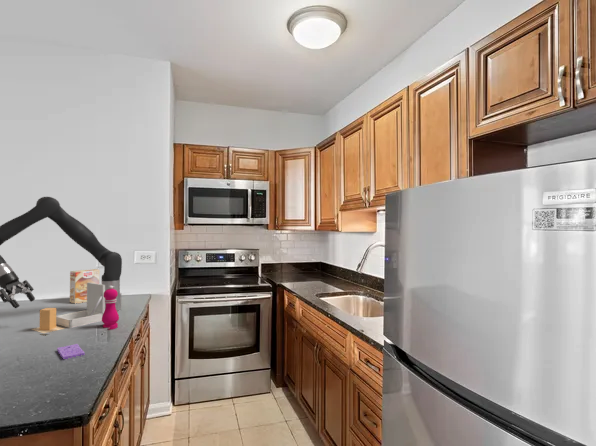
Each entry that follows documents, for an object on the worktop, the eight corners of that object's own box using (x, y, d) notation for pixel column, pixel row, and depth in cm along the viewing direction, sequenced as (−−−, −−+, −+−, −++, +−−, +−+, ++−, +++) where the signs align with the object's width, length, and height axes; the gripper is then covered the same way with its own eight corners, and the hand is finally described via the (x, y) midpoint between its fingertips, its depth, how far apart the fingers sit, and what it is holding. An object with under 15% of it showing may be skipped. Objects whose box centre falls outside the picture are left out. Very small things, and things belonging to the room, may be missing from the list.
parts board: (52, 326, 174) (52, 324, 174) (65, 330, 168) (65, 328, 168) (30, 331, 166) (30, 329, 166) (43, 335, 160) (43, 333, 160)
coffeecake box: (75, 304, 222) (75, 272, 222) (69, 302, 226) (69, 271, 226) (99, 299, 235) (99, 269, 235) (93, 298, 239) (94, 268, 239)
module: (46, 327, 169) (46, 307, 169) (56, 327, 169) (56, 307, 169) (39, 330, 165) (39, 310, 165) (49, 330, 165) (49, 310, 165)
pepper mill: (111, 330, 169) (112, 287, 169) (98, 329, 170) (98, 286, 170) (122, 326, 176) (122, 284, 176) (108, 325, 177) (109, 284, 177)
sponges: (77, 348, 146) (77, 343, 146) (85, 357, 137) (85, 352, 137) (56, 352, 141) (56, 347, 141) (63, 361, 132) (63, 356, 132)
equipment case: (89, 318, 190) (89, 282, 190) (104, 322, 183) (105, 285, 183) (54, 325, 176) (54, 287, 176) (70, 330, 169) (70, 290, 169)
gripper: (-5, 275, 162) (17, 305, 163) (23, 266, 176) (43, 294, 177) (-16, 284, 163) (6, 313, 164) (12, 275, 177) (32, 302, 178)
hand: (25, 303), depth 170 cm, fingers open, 8 cm apart
